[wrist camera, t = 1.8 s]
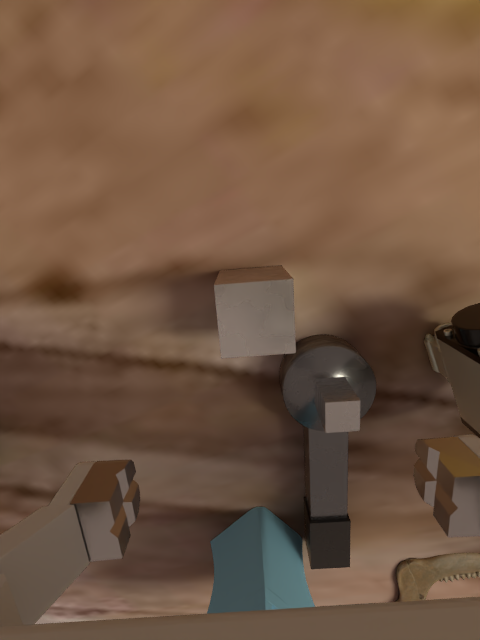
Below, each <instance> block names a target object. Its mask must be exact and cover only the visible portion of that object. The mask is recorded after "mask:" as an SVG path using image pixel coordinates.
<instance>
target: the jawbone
mask: <svg viewBox="0 0 480 640" xmlns="http://www.w3.org/2000/svg"><path fill="white" fill-rule="evenodd" d="M437 570H438V571H437ZM476 576H478V577H480V554H479V553H454V554H445V555H438V556H434V557H430V558H423V559H406V560H404V562H403V561H402V562H401V563H400V564H399V566H398V568H397V572H396V578H397V582H398V587H399V590H400V597H399V599H398V600H397V601H395V602H401V601H417V600H425V599H426V596H427V593H428V591H429V589H430V587H431V586H432V585H433V584H434V583H435V582H437V581H438V580H439V581H441V582H442V581H443V580H444V581H445V582H446V583H447V582H448V580H450V581H452V582H453V580H454V578H455V579H456V580H459V578H460V577H461V578H462V579H463V580H464V579H465V577H467V578H468V579H470V577H472V578H476Z"/></svg>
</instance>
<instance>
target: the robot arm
mask: <svg viewBox="0 0 480 640" xmlns="http://www.w3.org/2000/svg"><path fill="white" fill-rule="evenodd" d="M415 453H416V454H417V456H418V457H419V460H418V461H417V462H416V463H415V464H414V473H413V476H414V480H415V485H416V488H417V490H418V492H419V494H420V496H421V497H422V499H423V501H424V502H426V503H427V504H429V505H431V506H432V507H434V511H433V516H434V517H435V519H436V520H437V522H438V523H439V525H440V526H441V528H442V529H443V531H444V532H445V534H446V535H447V536H448V537H467V536H480V439H479V438H478V437H477V436H475V435H472V434H470V435H460V436H453V437H444V438H430V439H418V440H417V442H416V444H415ZM135 472H136V470H135V466H134V462H133V461H132V460H111V461H97V462H96V461H93V462H80V463H78V464H76V466H75V467H74V468H73V470H72V471H71V473H70V474H69V476H68V477H67V479H66V480H65V482H64V483H63V485H62V486H61V488H60V489H59V491H58V492H57V494H56V495H55V497H54V498H53V500H52V501H51V502H50V504H49V505H48V506H45V507H41V508H40V509H38V510H37V511H35V512H34V513H32V514H31V515H29V516H28V517H26V518H25V519H23V520H22V521H20V522H19V523H17V524H16V525H14V526H13V527H12V528H10V529H9V530H7V531H6V532H4V533H3V534H1V535H0V640H480V597H467V598H450V599H434V600H417V601H401V602H385V603H368V604H352V605H336V606H320V607H304V608H288V609H272V610H256V611H240V612H224V613H208V614H192V615H176V616H160V617H144V618H128V619H112V620H96V621H80V622H64V623H48V624H35V623H36V622H37V621H38V620H39V618H40V617H41V616H42V615H43V614H44V613H45V612H46V611H47V610H48V609H49V608H50V606H51V605H52V604H53V603H54V602H55V601H56V600H57V599H58V598H59V597H60V596H61V594H62V593H63V592H64V591H65V590H66V589H67V588H68V587H69V586H70V585H71V584H72V582H73V581H74V580H75V579H76V578H77V577H78V576H79V575H80V574H81V573H82V572H83V570H84V569H85V568H86V567H87V566H88V565H89V564H90V563H89V562H92V561H102V560H112V559H122V558H123V556H124V553H125V550H126V547H127V544H128V541H129V538H130V536H131V535H130V530H129V526H131V525H132V524H133V523H134V522H135V521H136V518H137V515H138V512H139V505H140V490H139V485H138V484H137V483H136V482H135V481H134V480H133V477H134V475H135Z"/></svg>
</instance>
